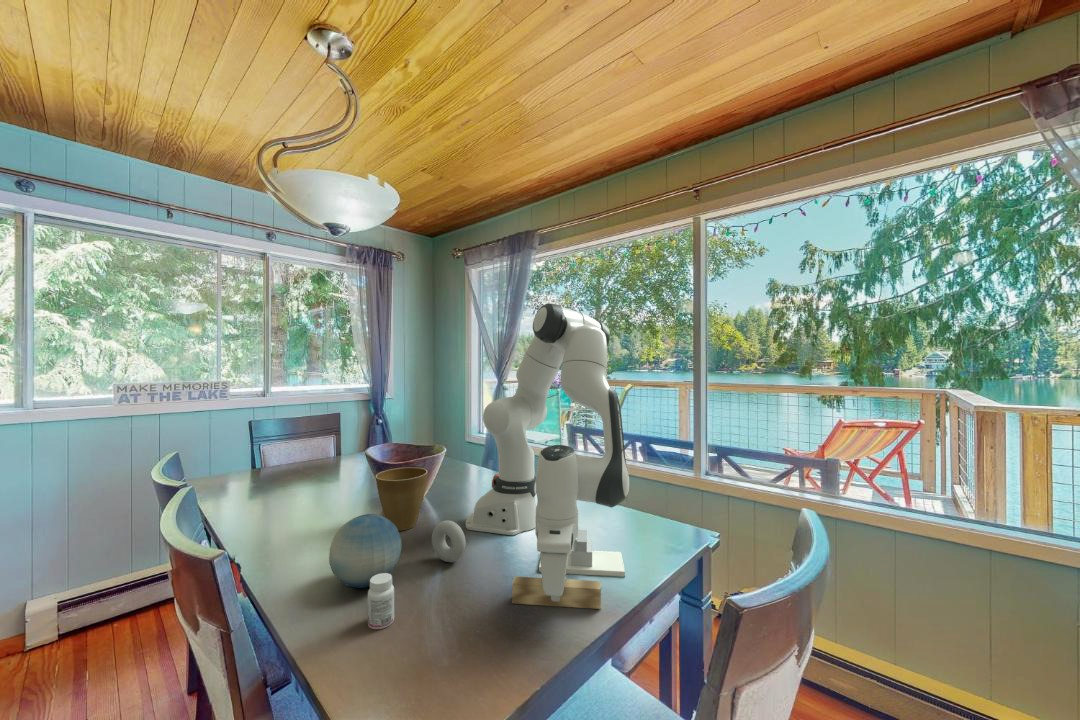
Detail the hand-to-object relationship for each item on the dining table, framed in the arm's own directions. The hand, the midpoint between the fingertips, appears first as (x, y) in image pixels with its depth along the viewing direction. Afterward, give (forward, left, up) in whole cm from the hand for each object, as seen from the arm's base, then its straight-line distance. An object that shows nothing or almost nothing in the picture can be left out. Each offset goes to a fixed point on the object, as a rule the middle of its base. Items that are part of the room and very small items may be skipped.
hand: (556, 593), depth 86 cm
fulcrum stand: (+5, +17, -2) cm, 18 cm away
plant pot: (-49, +35, -2) cm, 60 cm away
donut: (-28, +15, -2) cm, 32 cm away
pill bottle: (-33, -10, -2) cm, 34 cm away
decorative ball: (-43, +3, -2) cm, 43 cm away
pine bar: (0, 0, -2) cm, 2 cm away
